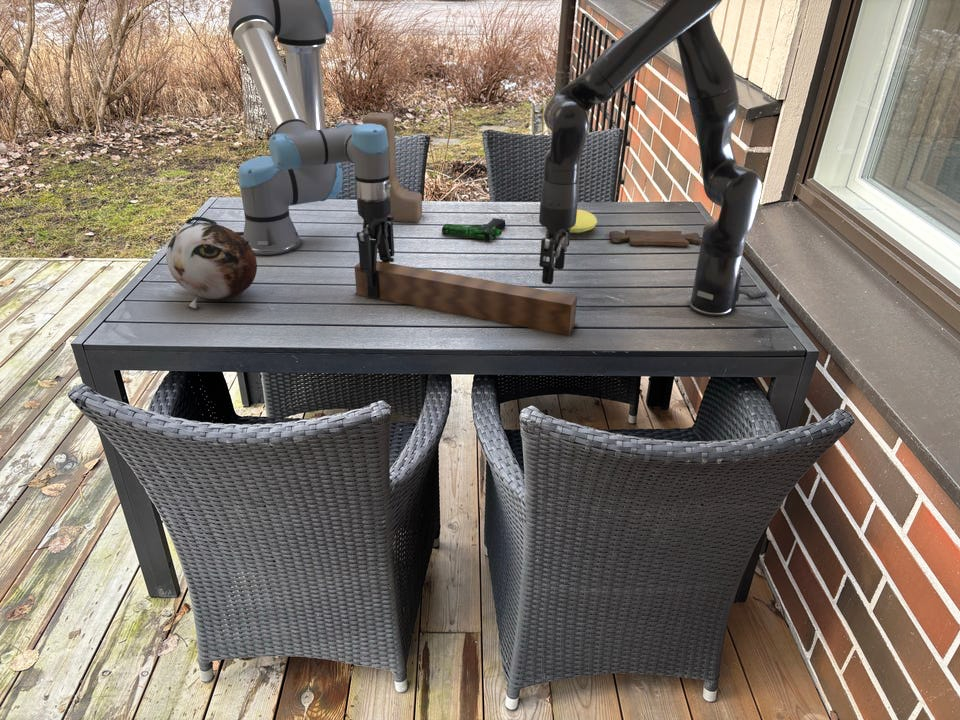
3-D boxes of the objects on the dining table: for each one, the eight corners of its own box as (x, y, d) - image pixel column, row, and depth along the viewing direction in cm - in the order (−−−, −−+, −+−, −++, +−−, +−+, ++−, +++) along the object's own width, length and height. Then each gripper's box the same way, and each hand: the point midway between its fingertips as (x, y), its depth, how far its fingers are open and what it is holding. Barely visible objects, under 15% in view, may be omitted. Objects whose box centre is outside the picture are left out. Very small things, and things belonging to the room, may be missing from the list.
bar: (356, 294, 171) (354, 266, 167) (366, 286, 175) (364, 258, 171) (568, 335, 155) (571, 305, 151) (574, 325, 159) (577, 295, 155)
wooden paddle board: (704, 248, 200) (696, 236, 208) (705, 243, 199) (697, 230, 207) (612, 245, 200) (607, 232, 208) (612, 239, 199) (608, 227, 208)
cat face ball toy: (130, 285, 161) (164, 203, 163) (192, 308, 177) (221, 233, 178) (195, 307, 151) (229, 220, 152) (254, 330, 166) (285, 250, 168)
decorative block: (417, 223, 213) (414, 119, 198) (368, 220, 215) (361, 117, 199) (422, 214, 220) (419, 113, 204) (375, 212, 221) (368, 111, 206)
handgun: (511, 219, 210) (493, 234, 198) (511, 228, 211) (492, 244, 199) (461, 212, 215) (440, 226, 203) (461, 221, 217) (440, 236, 204)
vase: (559, 216, 220) (561, 193, 217) (605, 227, 212) (608, 204, 209) (532, 230, 209) (533, 207, 206) (580, 242, 201) (582, 218, 198)
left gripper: (368, 212, 151) (375, 310, 163) (406, 188, 165) (410, 280, 177) (337, 207, 153) (346, 304, 165) (378, 184, 168) (383, 275, 180)
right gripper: (567, 215, 137) (561, 291, 145) (585, 194, 149) (578, 266, 157) (530, 209, 139) (525, 285, 148) (551, 189, 151) (545, 261, 159)
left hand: (379, 291), depth 171 cm, fingers closed on bar, 5 cm apart
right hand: (553, 275), depth 152 cm, fingers open, 8 cm apart
